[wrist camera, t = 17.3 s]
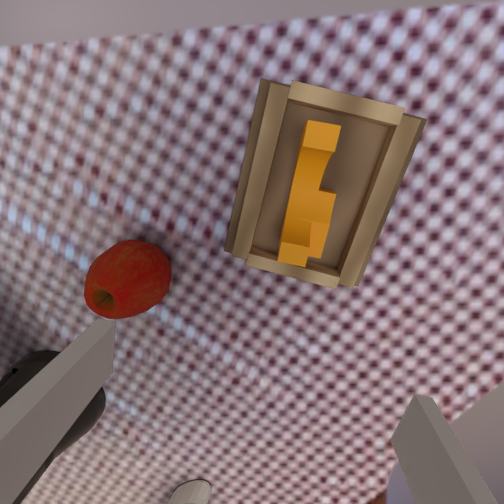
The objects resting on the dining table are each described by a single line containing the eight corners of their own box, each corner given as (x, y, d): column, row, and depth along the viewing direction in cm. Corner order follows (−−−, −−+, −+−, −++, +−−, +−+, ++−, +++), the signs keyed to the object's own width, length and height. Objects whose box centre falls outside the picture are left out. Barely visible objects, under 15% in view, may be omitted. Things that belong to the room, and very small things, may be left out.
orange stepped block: (317, 248, 32) (324, 271, 26) (279, 240, 33) (277, 261, 26) (347, 134, 28) (364, 129, 22) (303, 126, 28) (308, 119, 22)
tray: (225, 248, 35) (219, 258, 31) (262, 80, 28) (258, 72, 25) (356, 282, 34) (363, 296, 31) (422, 120, 28) (439, 116, 25)
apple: (135, 217, 35) (73, 245, 25) (193, 256, 36) (156, 297, 26) (109, 268, 38) (43, 312, 28) (163, 303, 38) (119, 357, 28)
